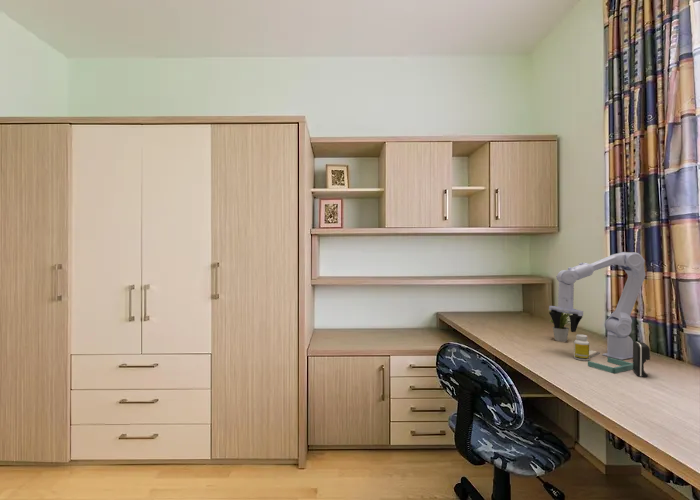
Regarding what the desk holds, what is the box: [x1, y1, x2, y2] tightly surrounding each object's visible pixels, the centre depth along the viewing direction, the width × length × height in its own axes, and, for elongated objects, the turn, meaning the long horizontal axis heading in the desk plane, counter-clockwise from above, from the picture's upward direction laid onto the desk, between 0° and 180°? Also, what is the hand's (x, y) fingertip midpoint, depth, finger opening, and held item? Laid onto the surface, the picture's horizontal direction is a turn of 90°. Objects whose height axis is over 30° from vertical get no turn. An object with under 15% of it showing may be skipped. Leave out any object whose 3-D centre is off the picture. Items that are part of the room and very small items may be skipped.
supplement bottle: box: [573, 333, 590, 362], centre depth 160 cm, size 5×5×10 cm
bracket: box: [587, 356, 633, 374], centre depth 149 cm, size 13×10×2 cm
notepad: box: [589, 349, 601, 358], centre depth 168 cm, size 9×6×1 cm, turn 129°
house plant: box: [547, 309, 571, 342], centre depth 191 cm, size 14×14×16 cm
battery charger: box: [632, 341, 651, 377], centre depth 141 cm, size 7×4×11 cm, turn 157°
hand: (565, 329), depth 167 cm, fingers open, 7 cm apart
